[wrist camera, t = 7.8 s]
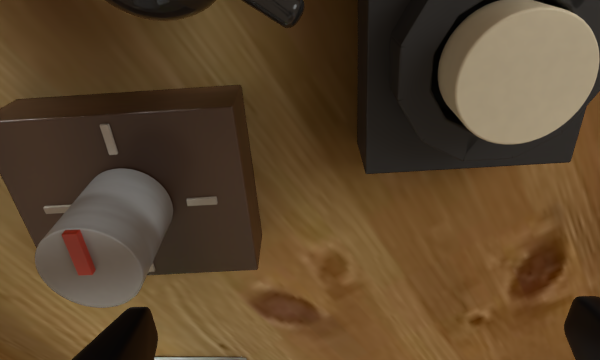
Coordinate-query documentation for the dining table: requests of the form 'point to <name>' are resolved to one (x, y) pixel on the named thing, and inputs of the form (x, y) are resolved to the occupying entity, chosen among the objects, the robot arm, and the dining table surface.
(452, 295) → the dining table surface
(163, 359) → the tea box
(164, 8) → the black glossy ovoid
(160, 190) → the dial
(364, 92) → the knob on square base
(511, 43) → the round beige button
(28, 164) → the panel
